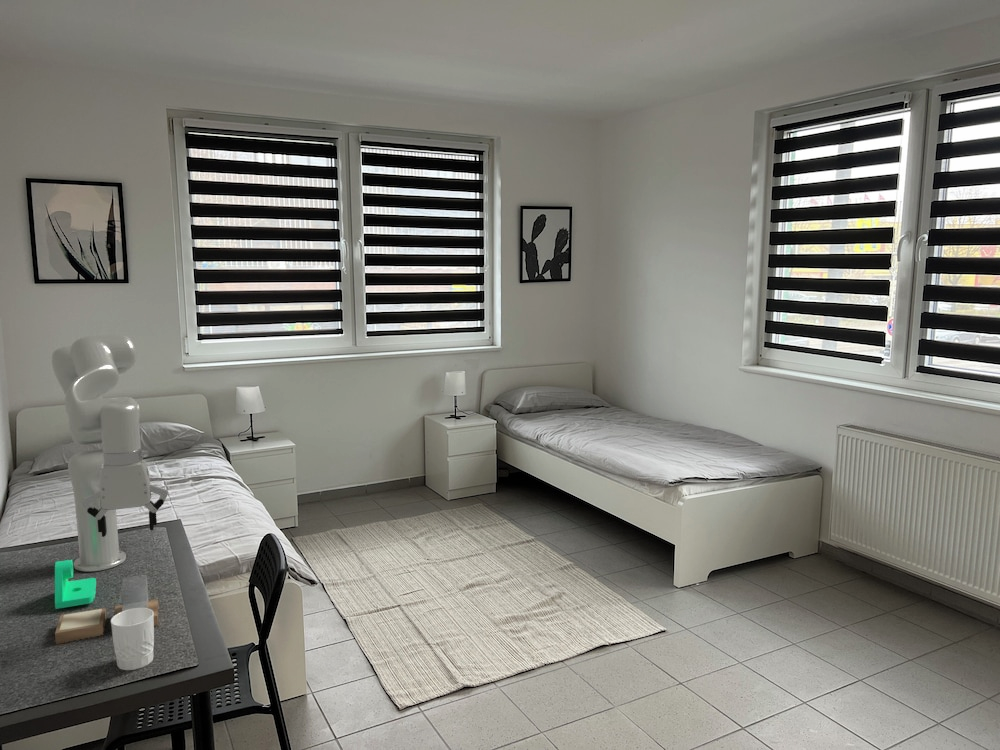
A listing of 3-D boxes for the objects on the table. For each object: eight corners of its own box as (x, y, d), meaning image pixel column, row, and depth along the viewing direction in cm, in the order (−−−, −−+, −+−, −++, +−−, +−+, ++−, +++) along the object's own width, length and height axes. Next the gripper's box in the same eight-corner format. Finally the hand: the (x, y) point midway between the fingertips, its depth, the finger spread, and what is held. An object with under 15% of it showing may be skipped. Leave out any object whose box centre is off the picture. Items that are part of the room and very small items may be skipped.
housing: (124, 606, 169) (122, 577, 167) (148, 602, 171) (146, 574, 170) (122, 619, 162) (120, 590, 161) (147, 615, 164) (145, 586, 163)
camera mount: (92, 607, 174) (89, 566, 172) (55, 613, 170) (52, 572, 169) (97, 586, 184) (93, 548, 183) (62, 592, 181) (58, 553, 180)
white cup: (128, 676, 145) (124, 629, 143) (106, 664, 149) (102, 619, 147) (164, 658, 151) (161, 614, 150) (142, 648, 155) (139, 604, 154)
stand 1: (61, 625, 165) (60, 614, 164) (106, 617, 168) (105, 606, 168) (55, 644, 156) (54, 632, 156) (103, 635, 160) (102, 624, 160)
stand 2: (116, 615, 169) (115, 605, 169) (158, 608, 173) (157, 598, 172) (113, 633, 161) (112, 623, 161) (158, 626, 165) (157, 615, 164)
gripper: (165, 450, 168) (170, 521, 170) (80, 458, 161) (86, 532, 163) (165, 457, 161) (170, 531, 164) (76, 466, 154) (82, 543, 157)
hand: (128, 531), depth 164 cm, fingers open, 9 cm apart
